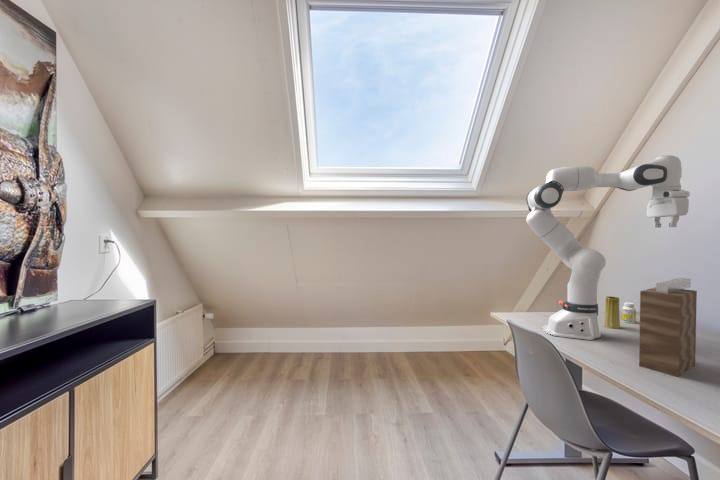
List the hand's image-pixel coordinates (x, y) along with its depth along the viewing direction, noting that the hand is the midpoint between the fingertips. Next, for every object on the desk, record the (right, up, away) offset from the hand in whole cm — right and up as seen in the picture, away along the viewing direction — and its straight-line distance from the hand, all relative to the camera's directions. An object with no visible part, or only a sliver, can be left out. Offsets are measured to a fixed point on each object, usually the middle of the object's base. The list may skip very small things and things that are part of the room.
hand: (665, 227), depth 138 cm
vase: (-8, -47, +18) cm, 52 cm away
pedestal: (-24, -49, -26) cm, 60 cm away
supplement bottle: (+6, -47, +26) cm, 54 cm away
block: (-20, -23, -24) cm, 39 cm away
